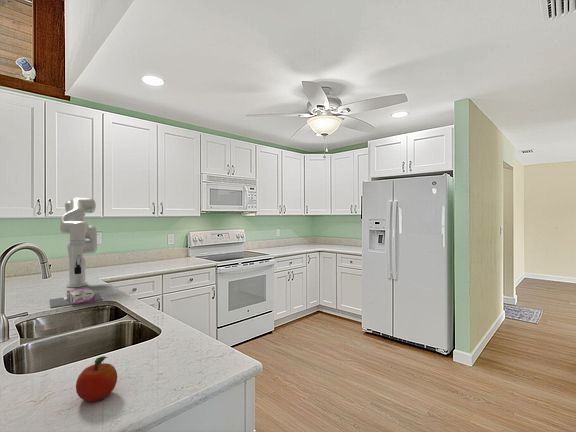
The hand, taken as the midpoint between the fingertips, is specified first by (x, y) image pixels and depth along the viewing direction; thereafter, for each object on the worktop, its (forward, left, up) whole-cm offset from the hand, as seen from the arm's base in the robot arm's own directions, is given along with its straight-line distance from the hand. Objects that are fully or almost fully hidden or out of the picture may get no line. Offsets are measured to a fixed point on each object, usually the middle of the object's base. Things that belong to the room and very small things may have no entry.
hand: (77, 273), depth 181 cm
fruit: (+123, -5, -15) cm, 124 cm away
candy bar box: (-2, 0, -12) cm, 12 cm away
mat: (+3, -1, -15) cm, 15 cm away
